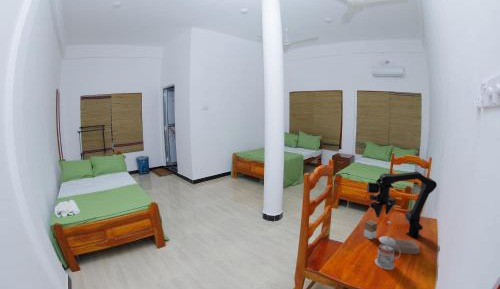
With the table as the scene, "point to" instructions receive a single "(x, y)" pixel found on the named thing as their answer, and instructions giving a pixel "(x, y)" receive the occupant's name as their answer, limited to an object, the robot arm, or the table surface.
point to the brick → (406, 246)
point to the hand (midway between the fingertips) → (382, 215)
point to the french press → (386, 246)
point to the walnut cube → (371, 226)
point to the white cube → (369, 234)
